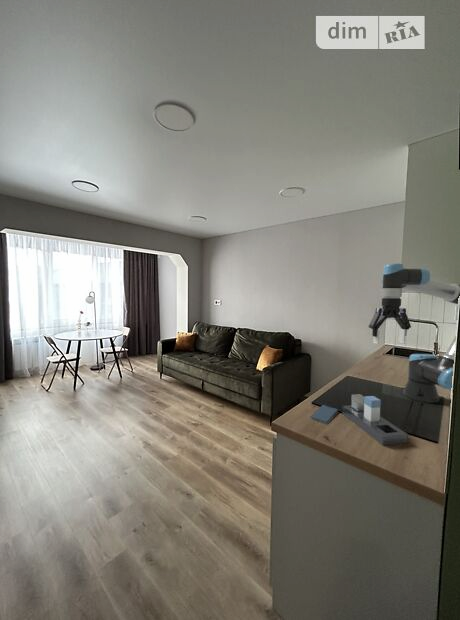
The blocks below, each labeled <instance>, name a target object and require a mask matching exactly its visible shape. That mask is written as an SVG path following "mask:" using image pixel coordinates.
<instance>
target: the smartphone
mask: <svg viewBox="0 0 460 620" xmlns="http://www.w3.org/2000/svg"><path fill="white" fill-rule="evenodd" d="M338 412H339V410H338V409H337V408H335V407H332V406H328V405H326V404H323V405H321V406H320V407H319V408H318V409H316V410H315V412H313V414H311V416H310V419H311V420H313V421H316V422H319V423H321V424H324V425H325V424H326V425H327V424H329V422H331V421H332V420H333V418H334V417H335V416H336V415H337V414H338Z"/></svg>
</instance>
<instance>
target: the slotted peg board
mask: <svg viewBox="0 0 460 620" xmlns="http://www.w3.org/2000/svg"><path fill="white" fill-rule="evenodd" d="M364 399H365V396H364V395H363V394H361V393H358V394H357V393H356V394H351V399H350V401H351V405H342V408H341V409H342V414H343V415H344V416H345V417H346V418H348V419H349V420H350V421H351V422H353V423H354V424H355V425H356V426H358V427H359V428H360V429H361V430H363V431H364V432H365V433H367V435H368V436H370V437H371V438H373V440H375V441H376V442H378V443H379V444H380V445H381V446H389V445H398V444H399V445H400V444H407V443H408V433H407V432H406V431H404V430H402V429H401V428H399V427H398V426H396V425H395V424H393V423H392V422H390V421H388V419H387V420H386V419H385V418H384V417H382V416H381V415H380V421H377V422H370V421H368V420H367V419H365V418H364Z"/></svg>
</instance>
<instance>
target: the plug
mask: <svg viewBox="0 0 460 620" xmlns="http://www.w3.org/2000/svg"><path fill="white" fill-rule="evenodd" d="M364 397H365V399H364V418H365V419H367V420H368V421H370V422H377V421H380V416H381V407H382V405H381V404H382V399H379V398H378V397H376V396H374V395H367V396H364Z"/></svg>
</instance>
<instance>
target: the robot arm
mask: <svg viewBox="0 0 460 620" xmlns="http://www.w3.org/2000/svg"><path fill="white" fill-rule="evenodd" d="M381 282H382V290H381V291H382V292H381V297H382V298H381V306H382V308H381V307H376V308H375V312H374V314H373V316H372V319H371V321H370V322H369V325H368V329H369V328H370V329H371V330H372V334H371V335H372V343H373V344H376V345H379V344H380V332H381V331H380V329H379V328H380V327H381V326H382V325H383V324H384V322H385V321H387V320H388V319H394V320H395V321H396V323H397V324H398V325H399V327H400V328H399V329H398V331H399V332H398V343H400V344H405V343H406V337H407V331H408V330H410V329H411V328H412V325H411V322H410V319H409V317H408V315H407V309H406V308H403V307H401V306H402V294H403V293H402V292H403V289H404V290H408V291H413V292H416V293H420V294H424V295H429V296H432V297H436V298H440V299H442V300H443V301H445V302H448V303H452V304H454V305H455V304H456V305H458V298H459V296H460V284H458V283H446V282H445V283H444V282H441V281H436V280H433V279H431V273H430V271H429V270H428V269H427V268H426V269H425V268H404V264H403V263H387V264H384V266H383V271H382V276H381ZM453 338H454V339H452V342H451V343H450V345H449V347H448V348H447V350H446V352H445V353H443V354H440V355H439V356H437V355H435V354H426V353H425V354H424V353H412V354H410V355H409V360H408V374H407V375H408V377H407V382H406V383H405V386H404V388H403V395H404V396H405V397H406V398H409V399H411V400H414V401H418V402H422V403H428V404H435V403H439V402H440V395H439V393H438V389H437V386H440V388H443V389H445V390H448V391H452V390H451V388H452V376H453V364H454V352H455V341H456V335H455V336H454V337H453Z"/></svg>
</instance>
